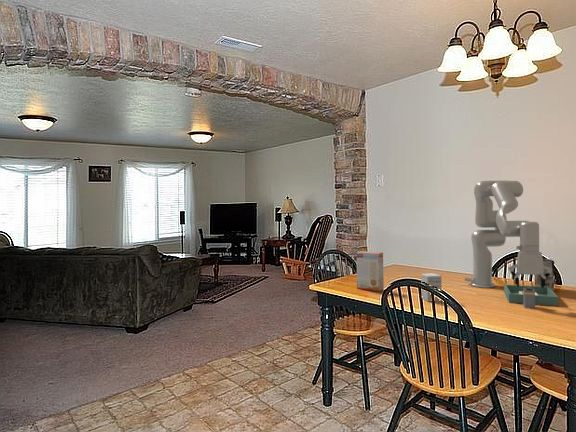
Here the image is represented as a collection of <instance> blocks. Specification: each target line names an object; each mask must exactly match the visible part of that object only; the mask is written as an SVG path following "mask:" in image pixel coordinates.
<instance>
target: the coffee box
mask: <svg viewBox="0 0 576 432" xmlns="http://www.w3.org/2000/svg"><path fill="white" fill-rule="evenodd" d="M543 265H544V266H546V267H549V268H551V269H552V272H551V273H550V275H549V276H548V277H547V278H546V279H545V286H544V287H549V288H550V289H551V290H552V291H553V292H554V291H555V260H552V259H550V258H543ZM543 269H544V268H543ZM547 271H548V270H546V269H544V272H543V274H546V273H547ZM534 286H539V287H541V276H540V275H534Z"/></svg>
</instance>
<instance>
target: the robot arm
mask: <svg viewBox="0 0 576 432" xmlns="http://www.w3.org/2000/svg"><path fill="white" fill-rule="evenodd" d="M523 193H524V186H523V184H522V183H521V182H519V181H517V180H482V181H478V182H477V183H476V184H475V186H474V188H473V194H474V198H475V199H474V200H475V218H474V219H475V220H474V221H475V225H476V227H478V228H482V229H478V230H475V231H473V232H472V233H471V236H470V237H471V238H470V239H471V244H472V253H473V255H472V257H473V259H472V262H473V263H472V265H473V266H472V268H473V269H472V273H473V274H472V277H464V281H465V282H470V286H472V287H475V288H483V289H484V288H487V289H490V288H495V286H496V285H495V283H494V282H493V254H492V252H491V250H489V248H490V247H491V248H492V247H495V248H496V247H502V246H504V245H505V243H506V239H507V238H513V237H515V238H517V237H519V245H517V246H516V250H519V251H518V253H517V258H516V264H513V265H510V266H509V267H508V268H507V270H508V271H509V273H510V274H511V275H512V276H513V277H514V285H517V287H519V285H520V278H519V276H520V275H527V276H528V275H531V276H532V275H533V276H535V275H540V276H541V287H542V288H544V286H545V279H546V278H547V277H548V276H549V275H550V273H551V272H552V269H551V268H549V267H546V266H544V265H543V259H544V258H543V254H542V251H541V252H540V224H539V223H538V222H537V221H529V220H508V219H507V214H510V213H512V212H513V211H515V210H516V209H517V208H518V207H519V202H518V200H517V198H520V197H521V196H522V195H523ZM491 197H493V198H494V200H495V201H496V203H497V206H498V208H499V209H498V210H496V209H495V210H494V209H493V208H494V203H493V200H492V198H491ZM483 228H485V229H483ZM486 228H488V229H486ZM490 228H494V229H490ZM488 247H489V248H488ZM543 268H544V269H546V270H548V271H547V273H546V274H543V272H544V269H543ZM514 269H516V272H514V271H513V270H514Z"/></svg>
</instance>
